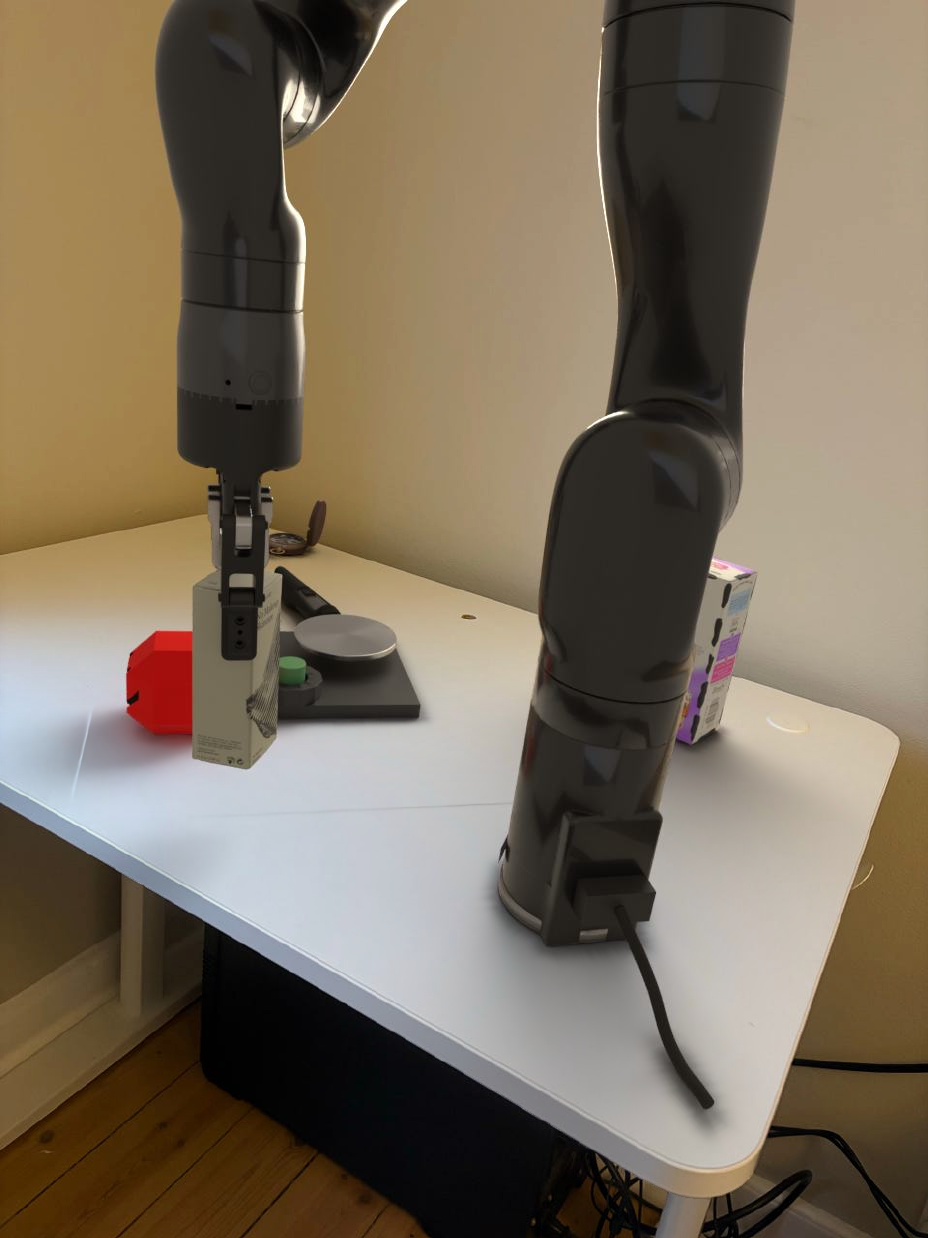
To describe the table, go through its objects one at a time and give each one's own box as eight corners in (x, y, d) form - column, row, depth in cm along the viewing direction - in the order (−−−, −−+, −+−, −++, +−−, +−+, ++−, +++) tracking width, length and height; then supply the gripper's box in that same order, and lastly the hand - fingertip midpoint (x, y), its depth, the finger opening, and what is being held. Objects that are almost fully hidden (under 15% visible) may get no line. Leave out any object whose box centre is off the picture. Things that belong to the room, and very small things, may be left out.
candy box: (720, 730, 89) (762, 570, 82) (690, 748, 84) (731, 581, 78) (604, 676, 97) (634, 526, 91) (570, 690, 93) (599, 534, 86)
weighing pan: (405, 662, 87) (405, 656, 87) (298, 661, 84) (298, 655, 84) (386, 620, 96) (387, 614, 96) (289, 618, 93) (289, 613, 93)
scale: (419, 719, 83) (423, 690, 82) (258, 721, 79) (260, 691, 78) (388, 644, 97) (390, 618, 96) (250, 643, 93) (251, 616, 92)
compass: (269, 538, 125) (271, 486, 122) (326, 547, 124) (330, 495, 122) (250, 556, 117) (252, 501, 115) (311, 565, 117) (314, 510, 114)
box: (249, 774, 62) (254, 597, 57) (189, 761, 63) (188, 585, 58) (279, 737, 67) (285, 571, 62) (222, 726, 68) (224, 561, 63)
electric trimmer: (294, 588, 110) (295, 563, 108) (350, 638, 98) (351, 610, 97) (264, 591, 108) (264, 565, 106) (317, 642, 96) (318, 614, 95)
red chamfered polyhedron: (132, 701, 80) (131, 620, 77) (227, 700, 82) (229, 621, 79) (124, 748, 73) (123, 661, 70) (229, 746, 75) (231, 662, 72)
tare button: (306, 686, 81) (307, 668, 80) (276, 687, 80) (277, 668, 79) (303, 673, 83) (304, 656, 82) (274, 673, 82) (274, 655, 81)
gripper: (179, 362, 61) (180, 597, 67) (173, 399, 48) (175, 686, 54) (293, 371, 63) (284, 598, 69) (317, 409, 50) (303, 684, 56)
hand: (237, 636), depth 62 cm, fingers closed on box, 6 cm apart
